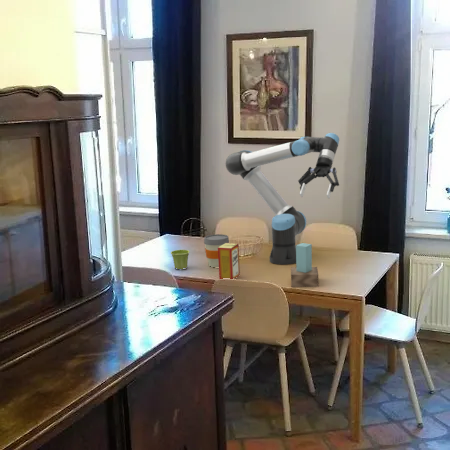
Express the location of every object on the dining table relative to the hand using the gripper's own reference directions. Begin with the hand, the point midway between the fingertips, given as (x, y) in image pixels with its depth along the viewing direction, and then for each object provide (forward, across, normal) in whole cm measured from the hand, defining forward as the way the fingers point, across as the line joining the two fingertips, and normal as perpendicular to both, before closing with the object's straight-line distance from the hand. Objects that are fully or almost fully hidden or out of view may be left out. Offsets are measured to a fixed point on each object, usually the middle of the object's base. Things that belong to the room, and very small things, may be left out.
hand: (314, 196), depth 303 cm
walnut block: (+42, -4, -9) cm, 43 cm away
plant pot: (+42, +63, -9) cm, 76 cm away
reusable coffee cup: (+34, +48, -16) cm, 61 cm away
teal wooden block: (+38, -4, -5) cm, 38 cm away
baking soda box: (+46, +32, -5) cm, 56 cm away
